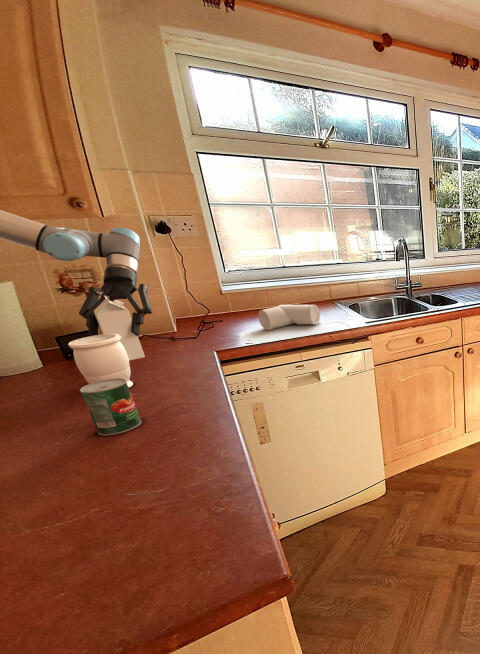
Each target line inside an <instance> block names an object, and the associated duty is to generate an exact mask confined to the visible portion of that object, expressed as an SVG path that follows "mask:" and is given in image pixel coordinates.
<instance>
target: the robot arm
mask: <svg viewBox="0 0 480 654" xmlns="http://www.w3.org/2000/svg"><path fill="white" fill-rule="evenodd" d="M0 240H1V241H4V242H8V243H11V244H14V245H16V246H17V245H18V246H21V247H24V248H27V249H30V250H31V249H32V250H35V251H38V252H41V253H43V254H47V255H49V256H50V257H51V258H52V259H55V260H58V261H63V262H74V261H78V260H80V259H82V258H84V257H93V258H104V259H105V262H104V263H105V264H104V271H103V278H102V279H103V280H102V281H103V284H102V285H101V287H94V286H90V287H89V288H88V294H87V296H86V298H85V300H84V302H83V304H82V305H81V308H80V309H79V311H78V315H80V316H81V317H82V318H83V319H85V320H86V321H85V327H86V328H88V329H87V337H89V336H95V335H99V334H98V333H99V329H100V326H99V324H98V321H97V319H96V316H95V314H94V310H95V309H96V308H97V307H98V306H99V305H100V304H101V303H102V302H103V301H104V300H105V297H104V295H105V296H106V297H107V298H108V300H110V301H112V302H114V300H127V301H128V302H129V303H130V305H131V307H132V308H133V309H134V311H135V312H132V316H131V319H132V325H131V332H132V333H133V334H135V335H136V336H138V337H139V336H140V331H141V330H140V329H141V326H142V325H144V323H145V316H147V315H151V314H153V309H152V306H151V303H150V299H149V296H148V292H149V288H148V287H147V286H146V285H145V284H144V283H140V284H139V285H138V284H137V281H138V269H139V260H140V252H141V238H140V236H139V235H138V234H137V233H136V232H135V231H134V230H132V229H129V228H125V227H113V228H112V229H110V230H109V232H108V233H105V232H96V231H95V232H94V231H87V230H82V229H81V230H80V229H75V228H74V229H73V228H69V227H54V226H50V225H47V224H44V223H41V222H38V221H35V220H32V219H29V218H26V217H23V216H20V215H17V214H14V213H11V212H8V211H5V210H2V209H0ZM136 291H137V292H138V295H139V298H140V302H141V306H142V307H141V306H140V305H139V303H138V302H137V301H136V299H135V298H134V296H133V294H134V293H136Z"/></svg>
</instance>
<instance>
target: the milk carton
mask: <svg viewBox="0 0 480 654" xmlns="http://www.w3.org/2000/svg"><path fill="white" fill-rule="evenodd" d="M104 297H105V300H104V301H103V302H102V303H101V304H100V305H99V306H98V307H97V308H96V309H95V310H94V314H95V316H96V319H97V321H98V324H99V329H100V331H101V335H103V334H119V335H120V337H121V339H120V340H119V341H120V343H121V344H122V345H123V347H124V348H125V350H126V352H127V355H128V358H129V361H135V360H138V359H143V358H146V356H145V353H144V349H143V347H142V344H141V341H140V339H139V336H136V335H135V334H133V333H132V332H131V325H132V316H131V313H130V310H129V309H128V308H127V307H126V306H124V304H125V302H123V301H121V300H120V299H118V300H114V301H113V302H112V301H110V300H108V298H109V297H108V296H107V297H108V298H107V297H106V296H105V295H104Z"/></svg>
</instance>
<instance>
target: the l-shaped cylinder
mask: <svg viewBox="0 0 480 654" xmlns="http://www.w3.org/2000/svg"><path fill="white" fill-rule="evenodd" d="M257 317H258V322H259V323H260V325H261V327H262V328H263V329H264V330H265V331H270V330H274V329H279V328H283V327H286V326H291V325H294V324H296V325H318V324H319V323H320V321H321V320H320V319H321V312H320V307H318V306H317V305H316V304H278V306H273V307H270V308H265V309H264V308H263V309H260V310H259V311H258V314H257Z"/></svg>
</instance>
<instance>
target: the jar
mask: <svg viewBox="0 0 480 654" xmlns="http://www.w3.org/2000/svg"><path fill="white" fill-rule="evenodd" d="M120 339H121V337H120V335H119V334H98V335H95V336H86V337H81V338H76V339H73V340H71V341H69V342H68V347H69V349H71V350H72V351H73V359H74V362H75V364H76V367H77V370H79V372H80V373H81V375H82V376H83V377H84V379H85V381H86V382H87V383H88V384H91V383H94V382H98V381H102V380H108V379H117V378H120V379H125V380H126V383H127V385H128V387H129V389H130V388H131V387H132V386H133V385H134V382H133V381H131V380H130V378H131V366H130V360H129V358H128V355H127V352H126V350H125V348H124V347H123V345H122V344H121V343H120V341H119V340H120Z"/></svg>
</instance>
